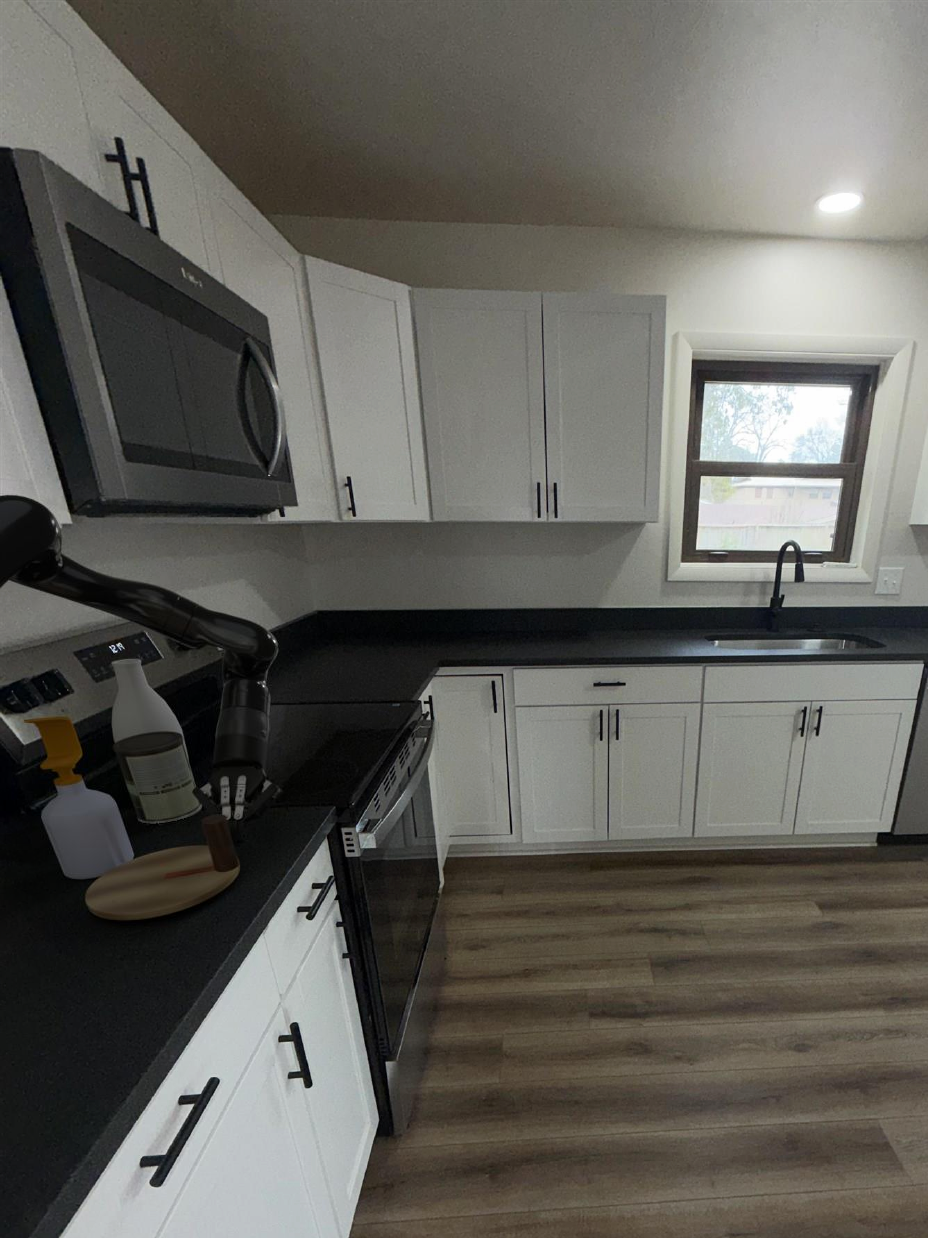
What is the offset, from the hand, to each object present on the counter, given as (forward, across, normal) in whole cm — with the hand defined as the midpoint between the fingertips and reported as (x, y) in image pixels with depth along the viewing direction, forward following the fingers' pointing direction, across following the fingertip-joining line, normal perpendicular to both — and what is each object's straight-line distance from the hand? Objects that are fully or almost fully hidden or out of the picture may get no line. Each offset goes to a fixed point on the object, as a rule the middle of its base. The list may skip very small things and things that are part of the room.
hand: (233, 845), depth 97 cm
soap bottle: (0, +22, -7) cm, 24 cm away
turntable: (+5, +8, +1) cm, 10 cm away
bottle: (-22, +27, -30) cm, 46 cm away
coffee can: (-13, +20, -21) cm, 32 cm away
